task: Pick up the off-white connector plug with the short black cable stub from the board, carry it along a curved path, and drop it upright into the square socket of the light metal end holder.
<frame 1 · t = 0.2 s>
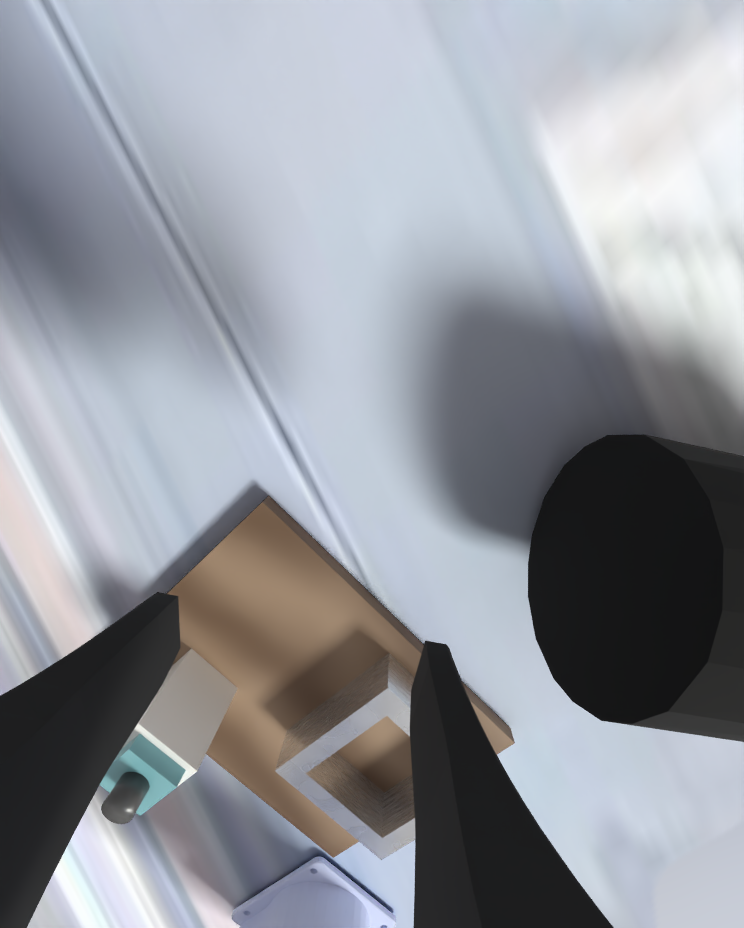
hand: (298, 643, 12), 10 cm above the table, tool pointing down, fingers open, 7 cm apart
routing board: (306, 689, 25), on the table
connector plug: (195, 685, 24), point 1 cm above the table, touching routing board
end holder: (386, 738, 25), resting on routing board
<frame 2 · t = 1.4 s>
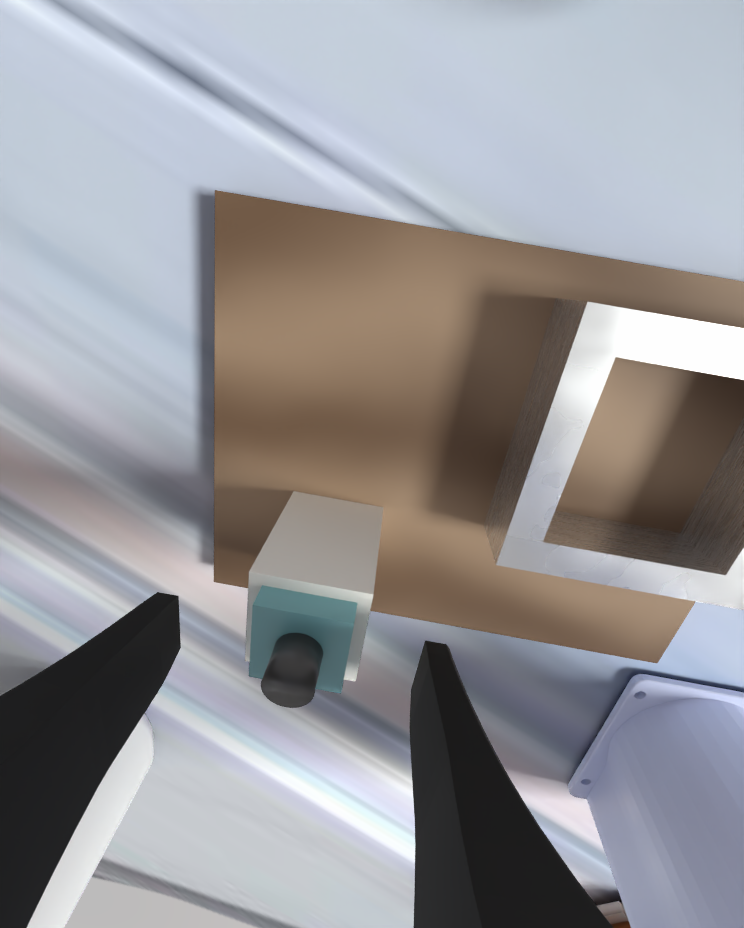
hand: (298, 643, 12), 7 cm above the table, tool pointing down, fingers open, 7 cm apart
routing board: (474, 461, 16), on the table
decorative ornament: (622, 915, 29), on the table
connector plug: (333, 537, 17), point 1 cm above the table, touching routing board
end holder: (634, 446, 15), resting on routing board
alcohol: (93, 719, 25), on the table
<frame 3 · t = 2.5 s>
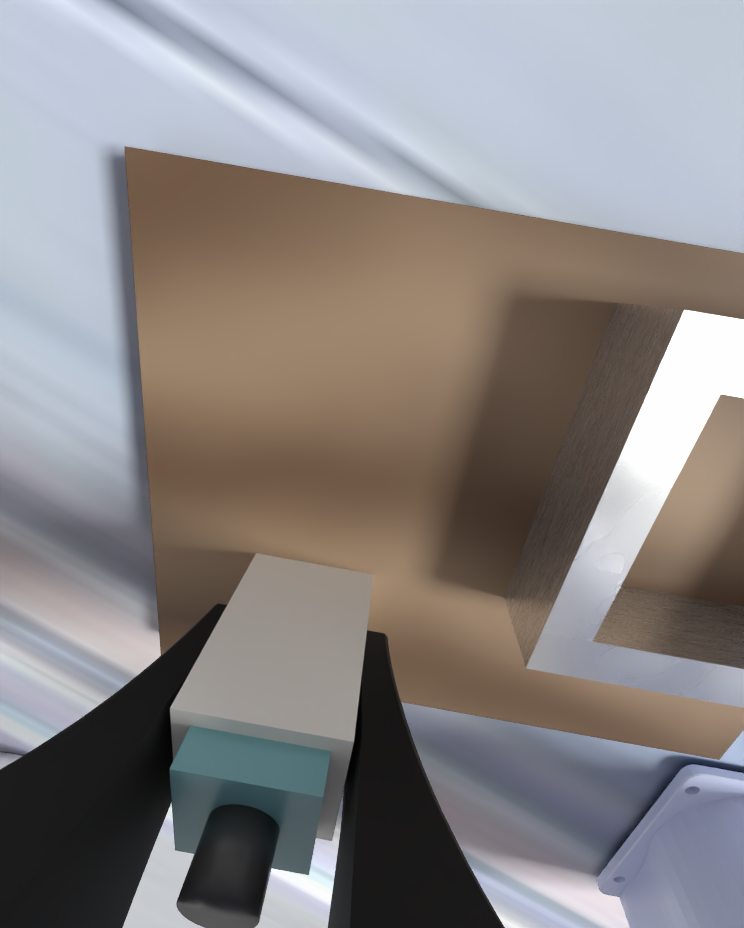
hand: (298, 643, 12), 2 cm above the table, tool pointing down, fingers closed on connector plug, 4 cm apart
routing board: (491, 513, 13), on the table
connector plug: (309, 608, 13), point 1 cm above the table, touching gripper, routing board
end holder: (710, 502, 11), resting on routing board
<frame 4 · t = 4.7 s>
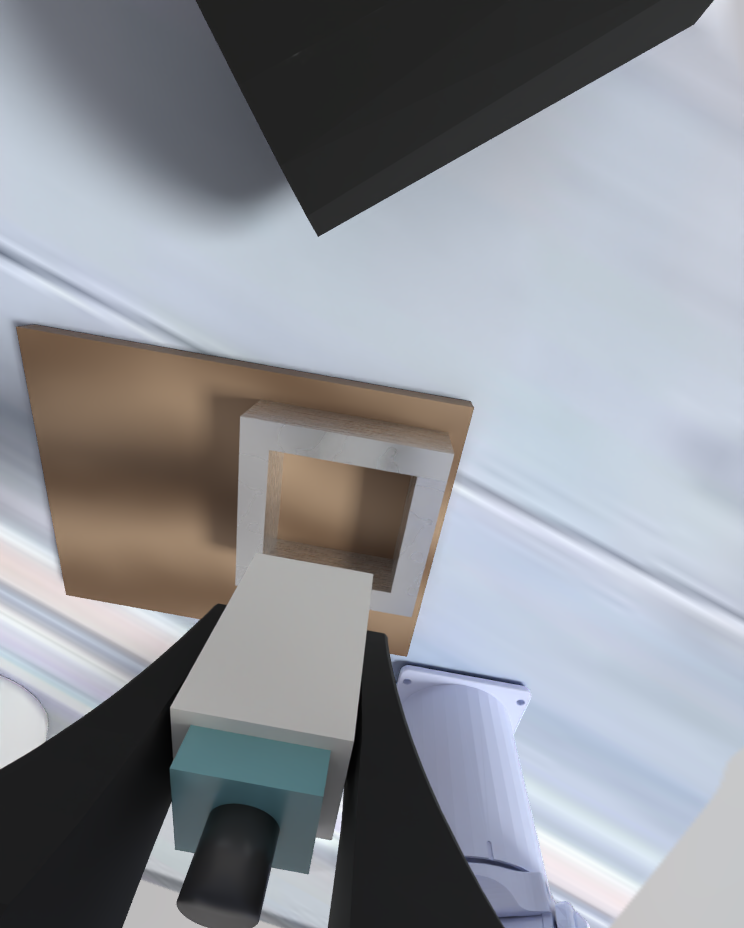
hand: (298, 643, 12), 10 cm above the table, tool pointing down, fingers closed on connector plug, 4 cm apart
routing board: (246, 505, 22), on the table
connector plug: (308, 608, 13), point 8 cm above the table, touching gripper
end holder: (342, 498, 20), resting on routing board
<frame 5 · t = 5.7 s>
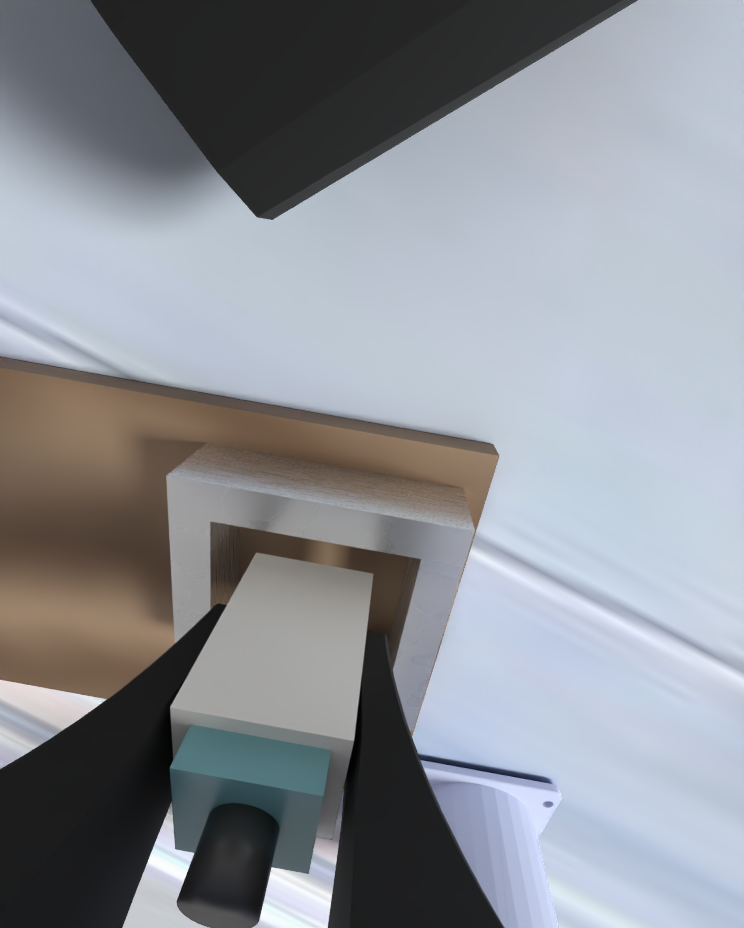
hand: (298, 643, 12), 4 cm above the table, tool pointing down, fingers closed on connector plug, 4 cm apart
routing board: (199, 570, 17), on the table
connector plug: (309, 608, 13), point 3 cm above the table, touching gripper
end holder: (321, 569, 15), resting on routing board
when the fingers open (4 cm above the table, at t = 6.0 s): connector plug drops 2 cm, resting on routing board.
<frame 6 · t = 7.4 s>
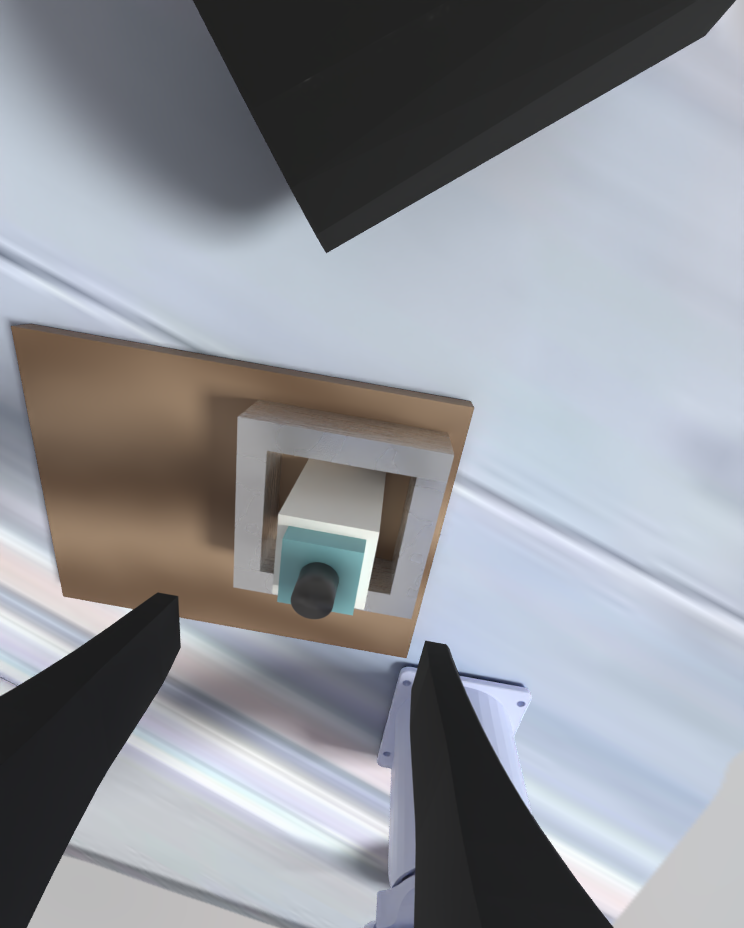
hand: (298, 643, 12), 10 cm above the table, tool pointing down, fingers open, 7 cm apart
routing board: (244, 506, 22), on the table
connector plug: (342, 498, 20), point 1 cm above the table, touching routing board
end holder: (341, 499, 20), resting on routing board
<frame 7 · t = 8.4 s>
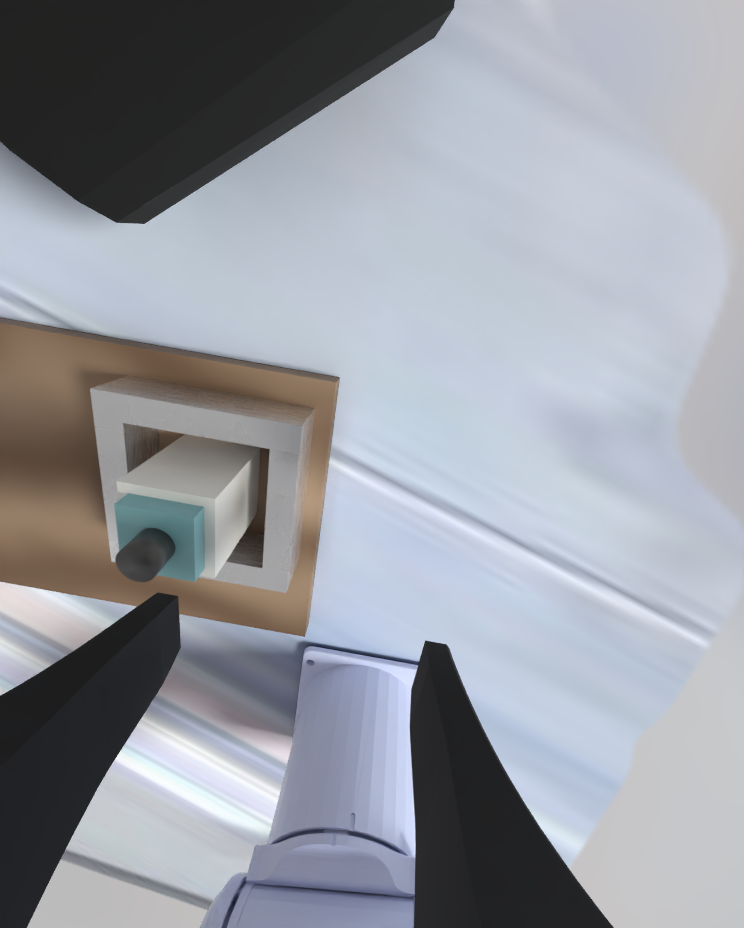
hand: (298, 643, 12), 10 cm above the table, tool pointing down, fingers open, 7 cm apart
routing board: (135, 484, 22), on the table
connector plug: (222, 475, 20), point 1 cm above the table, touching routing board
end holder: (221, 475, 20), resting on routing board
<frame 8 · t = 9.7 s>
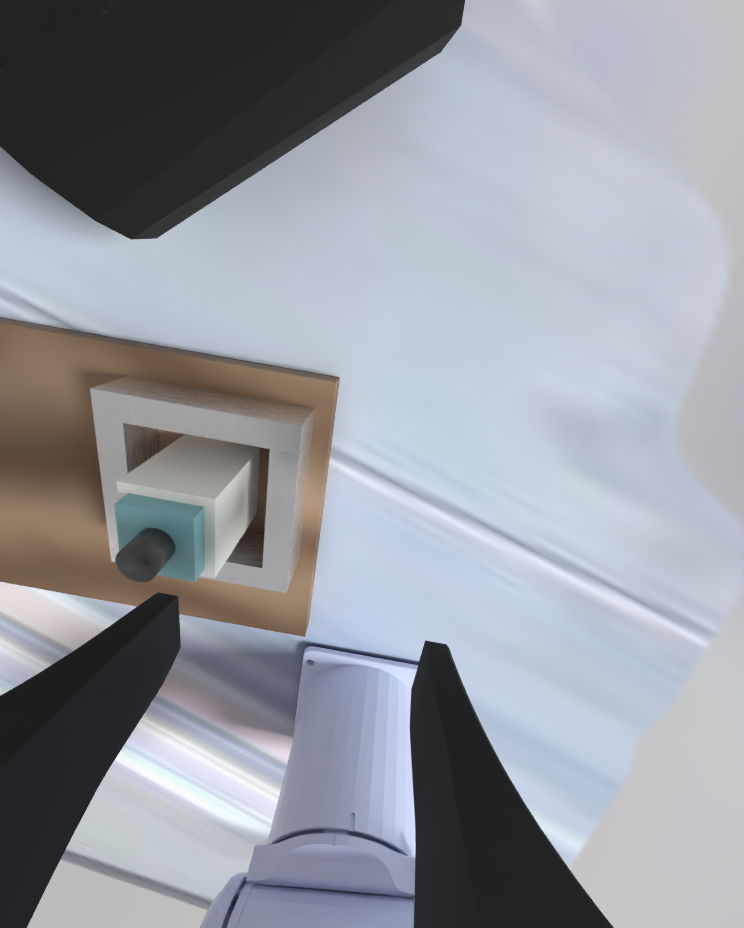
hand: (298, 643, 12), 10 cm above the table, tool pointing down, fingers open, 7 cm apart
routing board: (135, 484, 22), on the table
connector plug: (222, 475, 20), point 1 cm above the table, touching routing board
end holder: (221, 475, 20), resting on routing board
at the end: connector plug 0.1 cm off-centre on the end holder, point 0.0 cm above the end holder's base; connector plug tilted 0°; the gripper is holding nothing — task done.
